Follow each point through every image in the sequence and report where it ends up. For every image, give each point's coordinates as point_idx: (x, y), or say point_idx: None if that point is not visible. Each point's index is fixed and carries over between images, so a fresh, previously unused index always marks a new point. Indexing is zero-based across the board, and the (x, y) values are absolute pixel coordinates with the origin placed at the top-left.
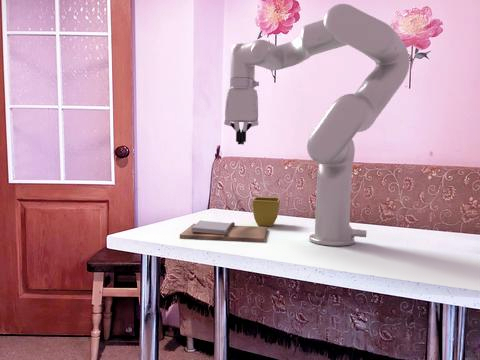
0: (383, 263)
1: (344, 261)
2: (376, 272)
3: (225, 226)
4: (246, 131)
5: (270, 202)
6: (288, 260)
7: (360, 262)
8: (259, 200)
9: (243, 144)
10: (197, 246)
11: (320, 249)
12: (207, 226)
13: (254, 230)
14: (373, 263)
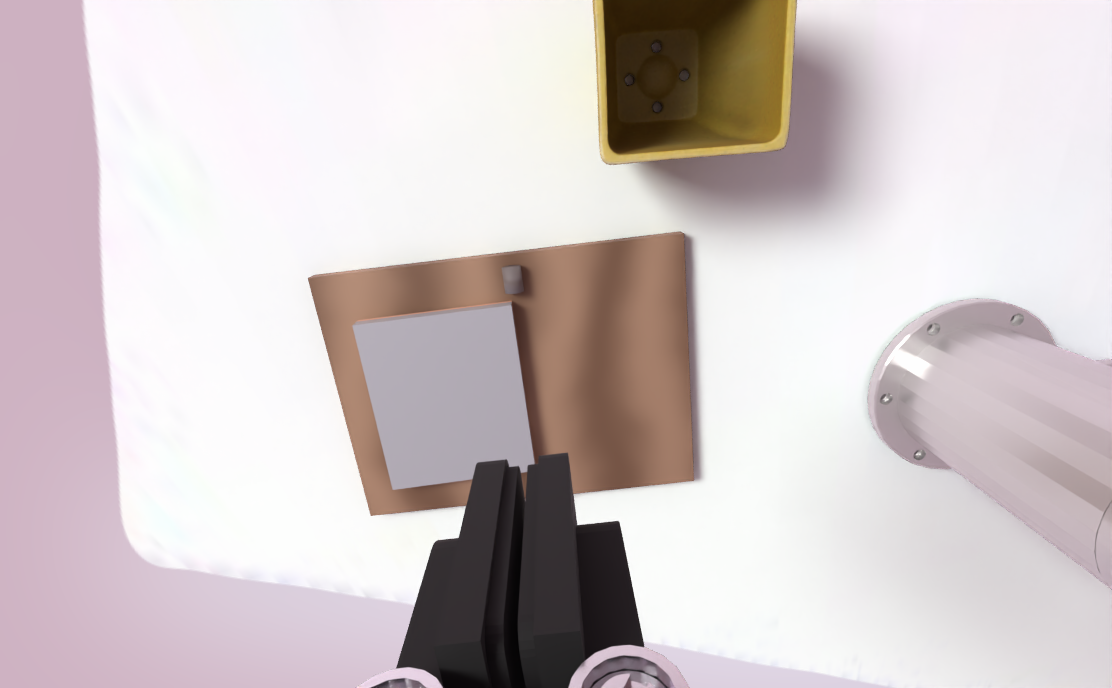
0: (1044, 606)
1: (937, 617)
2: (994, 681)
3: (510, 394)
4: (656, 658)
5: (728, 154)
6: (780, 649)
7: (980, 614)
8: (653, 159)
9: (574, 504)
10: None
11: (889, 511)
12: (441, 437)
13: (635, 343)
14: (1015, 613)
